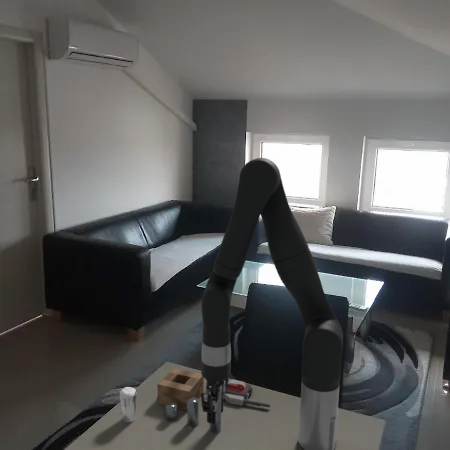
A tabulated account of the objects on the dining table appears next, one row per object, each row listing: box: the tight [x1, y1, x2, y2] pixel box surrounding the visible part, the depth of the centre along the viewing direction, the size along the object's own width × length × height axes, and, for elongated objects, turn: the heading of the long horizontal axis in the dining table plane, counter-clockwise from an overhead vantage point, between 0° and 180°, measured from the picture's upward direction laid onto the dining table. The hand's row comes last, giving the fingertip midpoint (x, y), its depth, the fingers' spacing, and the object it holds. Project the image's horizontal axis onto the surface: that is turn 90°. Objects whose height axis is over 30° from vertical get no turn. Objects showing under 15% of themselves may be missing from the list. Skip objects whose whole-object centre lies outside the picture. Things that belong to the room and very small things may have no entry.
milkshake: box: [119, 386, 138, 424], centre depth 132 cm, size 5×5×10 cm
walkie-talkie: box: [223, 379, 271, 408], centre depth 144 cm, size 9×4×20 cm
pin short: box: [165, 402, 178, 423], centre depth 133 cm, size 3×3×4 cm
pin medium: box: [186, 398, 199, 428], centre depth 131 cm, size 3×3×7 cm
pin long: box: [209, 389, 222, 434], centre depth 128 cm, size 3×3×12 cm
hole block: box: [157, 367, 205, 411], centre depth 143 cm, size 10×10×6 cm
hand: (215, 416), depth 128 cm, fingers open, 4 cm apart
